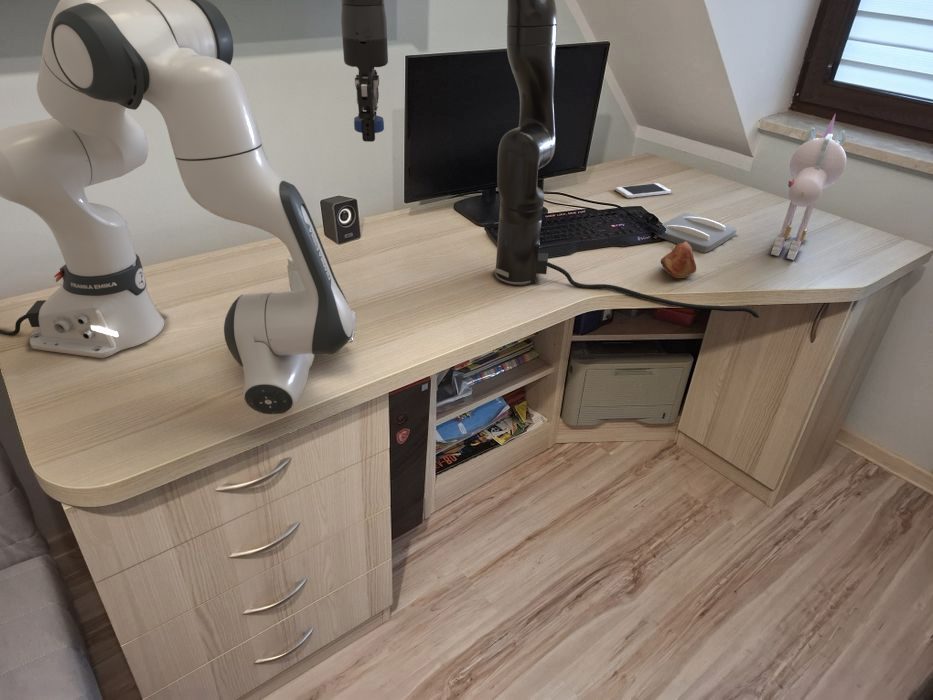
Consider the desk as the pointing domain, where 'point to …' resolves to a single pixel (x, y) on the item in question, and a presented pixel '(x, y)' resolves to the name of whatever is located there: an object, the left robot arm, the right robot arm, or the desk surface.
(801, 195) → the toy
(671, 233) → the light switch
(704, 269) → the desk surface
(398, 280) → the desk surface
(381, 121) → the lid
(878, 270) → the desk surface
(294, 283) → the jar
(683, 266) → the fossil
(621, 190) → the smartphone
